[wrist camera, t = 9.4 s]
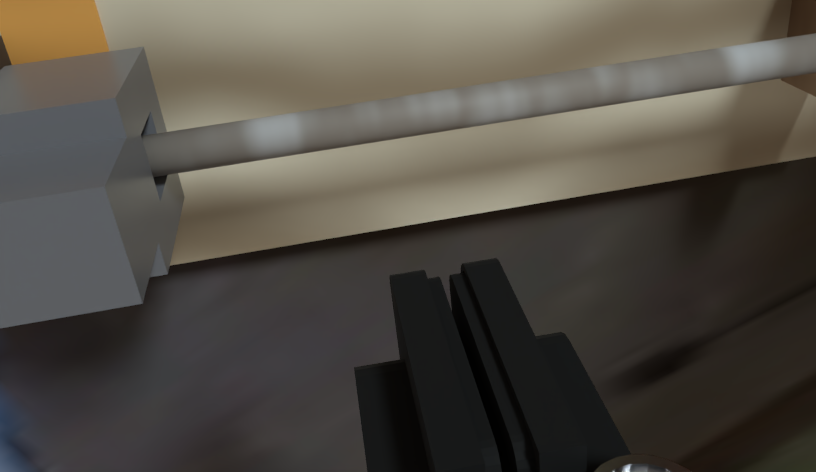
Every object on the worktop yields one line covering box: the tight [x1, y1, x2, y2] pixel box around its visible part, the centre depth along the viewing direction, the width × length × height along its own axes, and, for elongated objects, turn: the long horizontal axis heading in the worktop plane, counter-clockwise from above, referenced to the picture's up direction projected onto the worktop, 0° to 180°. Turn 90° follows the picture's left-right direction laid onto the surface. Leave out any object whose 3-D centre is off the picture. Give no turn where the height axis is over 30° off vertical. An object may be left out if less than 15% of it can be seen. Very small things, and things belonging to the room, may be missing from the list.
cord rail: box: [0, 0, 816, 266], centre depth 24 cm, size 12×34×8 cm, turn 96°
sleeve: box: [0, 47, 185, 328], centre depth 20 cm, size 5×4×8 cm
